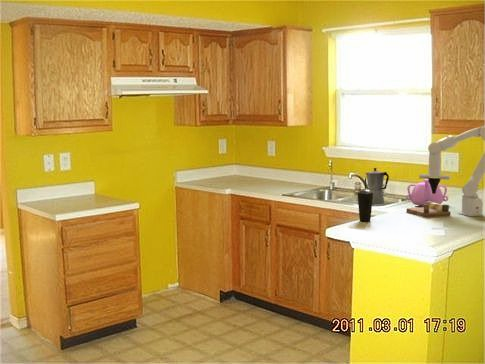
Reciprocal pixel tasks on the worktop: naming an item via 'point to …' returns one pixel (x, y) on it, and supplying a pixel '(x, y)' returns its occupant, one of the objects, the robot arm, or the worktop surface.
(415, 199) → the teapot
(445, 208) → the birch leg
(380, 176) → the moka pot
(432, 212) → the walnut stool seat
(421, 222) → the worktop surface
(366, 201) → the drinking cup
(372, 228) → the worktop surface
